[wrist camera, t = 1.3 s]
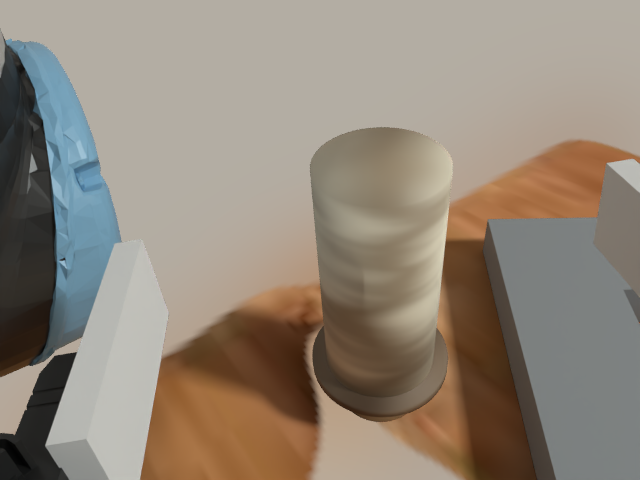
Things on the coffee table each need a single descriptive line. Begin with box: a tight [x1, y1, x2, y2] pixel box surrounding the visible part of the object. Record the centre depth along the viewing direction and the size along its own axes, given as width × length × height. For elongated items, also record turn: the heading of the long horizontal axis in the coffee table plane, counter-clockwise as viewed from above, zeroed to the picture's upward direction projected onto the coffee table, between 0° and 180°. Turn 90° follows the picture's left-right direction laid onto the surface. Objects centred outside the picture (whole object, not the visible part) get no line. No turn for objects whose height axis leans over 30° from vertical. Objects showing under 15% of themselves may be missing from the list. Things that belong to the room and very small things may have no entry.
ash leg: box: [310, 127, 453, 422], centre depth 30 cm, size 8×8×16 cm
